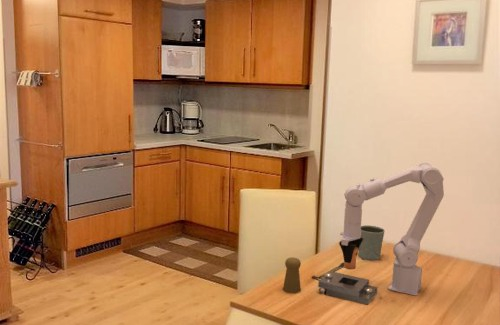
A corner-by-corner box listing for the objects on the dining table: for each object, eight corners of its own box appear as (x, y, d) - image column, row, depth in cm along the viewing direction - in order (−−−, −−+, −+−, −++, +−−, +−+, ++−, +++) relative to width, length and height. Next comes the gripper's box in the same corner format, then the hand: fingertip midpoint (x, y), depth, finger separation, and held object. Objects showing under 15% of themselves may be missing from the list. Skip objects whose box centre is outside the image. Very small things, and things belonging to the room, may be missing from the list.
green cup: (352, 253, 209) (354, 226, 207) (373, 252, 212) (375, 224, 210) (365, 262, 199) (367, 233, 197) (387, 260, 202) (389, 231, 201)
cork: (289, 284, 176) (290, 254, 174) (304, 289, 172) (305, 258, 170) (279, 289, 171) (280, 258, 169) (294, 294, 167) (295, 263, 166)
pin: (359, 266, 176) (360, 247, 175) (354, 271, 172) (355, 251, 171) (345, 263, 179) (346, 244, 177) (340, 268, 174) (341, 248, 173)
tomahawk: (326, 286, 178) (326, 283, 178) (311, 279, 182) (311, 276, 182) (357, 269, 193) (357, 267, 193) (342, 263, 197) (342, 261, 197)
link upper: (368, 290, 172) (369, 276, 172) (358, 302, 163) (359, 287, 162) (329, 281, 179) (330, 268, 178) (317, 292, 170) (318, 278, 169)
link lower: (377, 292, 171) (377, 284, 170) (367, 304, 161) (368, 295, 161) (337, 283, 178) (338, 275, 177) (326, 294, 168) (326, 286, 168)
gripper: (348, 215, 181) (346, 251, 183) (333, 224, 168) (331, 263, 170) (367, 218, 177) (365, 255, 179) (354, 228, 165) (351, 268, 167)
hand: (350, 259), depth 175 cm, fingers closed on pin, 5 cm apart
